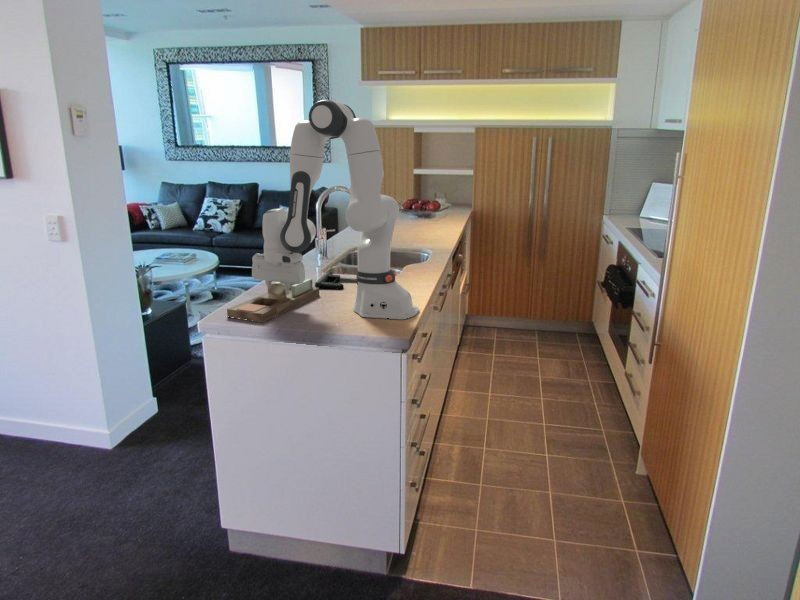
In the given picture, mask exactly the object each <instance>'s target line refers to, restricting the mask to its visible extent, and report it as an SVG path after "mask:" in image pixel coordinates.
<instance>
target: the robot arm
mask: <svg viewBox="0 0 800 600" xmlns="http://www.w3.org/2000/svg"><path fill="white" fill-rule="evenodd" d="M338 138H341V140H342V141H343V144H344V147H345V152H346V158H347V166H348V169H349V178H350V191H349V192H350V193H349V202H348V206H347V207H346V209H345V222H346V224H347V225H348V226H349V228H350V229H351V230H353V231H355V232H360V233H361V232H362V234H361V239H360V241H359V243H358V245H357V270H356V278H355V279H357V283H356V286H357V290H356V298H355V303H354V306H353V307H354V308H353V311H354V312H355V313H357V314H358V315H359V316H360V317H361V318H371V319H372V318H373V319H374V318H375V319H376V318H377V319H387V318H389V320H391V319H392V320H406V319H407V318H408V319H410V317H411V318H412V317H415V316H416V315H417V314H418V313H419V312H420V308H419V306H417V305H413V299H412V295H411V293H410V292H409V291H408V290H407V289H405V288H404V287H403V286H402V285H401V284H400V283H399V282H397V281H396V277H397V275H398V272H397V271H396V272H394V271H392V269H391V248H392V245H391V244H392V240H393V235H394V230H395V225H396V223H397V219H398V217H399V214H400V207H399V204H398V202H397V201H398V200H397V199H395V198H394V197H393V196H389V195H387V194H382V191H381V190H382V182H383V180H384V177H385V176H384V175H385V171H384V166H383V159H382V153H381V152H382V151H381V148H380V147H381V146H380V141H379V137H378V134H377V131H376V127H375V126H374V123H373V122H372V120H370V119H368V118H366V117H357V116H356V114H355V111H354V110H353V109H352V108H351V107H350V106H349V105H347V104H345V103H341V102H340V101H336V100H333V99H332V100H331V99H321V100H319V101H316V102H315V103H314V104H313V105H312V106H311V107H310V109H309V112H308V120H305V119H304V120H301V121H299V122H297V123H296V125H295V126H294V130H293V133H292V137H291V142H290V151H289V175H290V176H289V177H290V178H289V179H290V182H289V183H290V188H289V190H290V191H289V202H288V209H286V208H283V207H277V208H272V209H269V210H267V211H265V213H263V216H262V224H261V225H262V226H261V227H262V238H263V240H264V241H263V253H259V252H258V253H255V254H253V256H252V257H251V258H252V259H251V261H252V265H251V276H252V278H253V280H258V281H265V285H266V287H267V288H268V285H271V284H272V282H274V283H275V282H284V283H285V285H287V286H286V288H285V289H284V290H283V294H285V295H288V294H289V289H290V287H291V285H292V283H294V284H300V283H303V282H304V280H305V278H306V270H305V265H304V263H303V258H304V257H303V255H302V254H301V253H302V252H305V251H306V250H307V249H309V246H310V244H311V243H312V242H313V240H314V239H315V238H316V235H317V227H316V225H315V223H314V222H313V221H312V220H310V219H309V218H308V215H309V213H308V212H309V204H310V197H311V193H312V191H313V188H314V187H315V185H316V183H317V182H318V180H319V179H320V176H321V173H322V170H323V164H324V157H325V146H326V142H327V141H328V140H329V139H330V140H333V139H338ZM408 319H407V320H408Z"/></svg>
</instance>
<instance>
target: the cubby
mask: <svg viewBox="0 0 800 600" xmlns="http://www.w3.org/2000/svg"><path fill="white" fill-rule="evenodd" d="M274 283H280V284H285V283H284V282H275V281H274ZM286 286H287V285H286ZM313 287H314V286H313V278H306V277H305V280H304V282H303V283H300V284H294V283H292V285H291V287H290V288H291V291H292V295H293V296H296V295H298V294H300V293H303V292H305V291H307V290H309V289H311V288H313Z"/></svg>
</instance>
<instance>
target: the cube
mask: <svg viewBox="0 0 800 600" xmlns="http://www.w3.org/2000/svg"><path fill="white" fill-rule="evenodd" d="M285 288H286V285H285V284H280V283H275V282H273V283H271V285H268V287H267V293H268V298H271V299H281V298H284V297H286V295H285V294H283V290H284V289H285Z"/></svg>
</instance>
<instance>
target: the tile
mask: <svg viewBox="0 0 800 600" xmlns="http://www.w3.org/2000/svg"><path fill="white" fill-rule="evenodd" d="M265 307H267V306H265V305H257V304H247V305H245V306H243V307H240V308H238V309H237V310H241V311H249V312H256V311H258V310H261V309H263V308H265Z"/></svg>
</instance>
